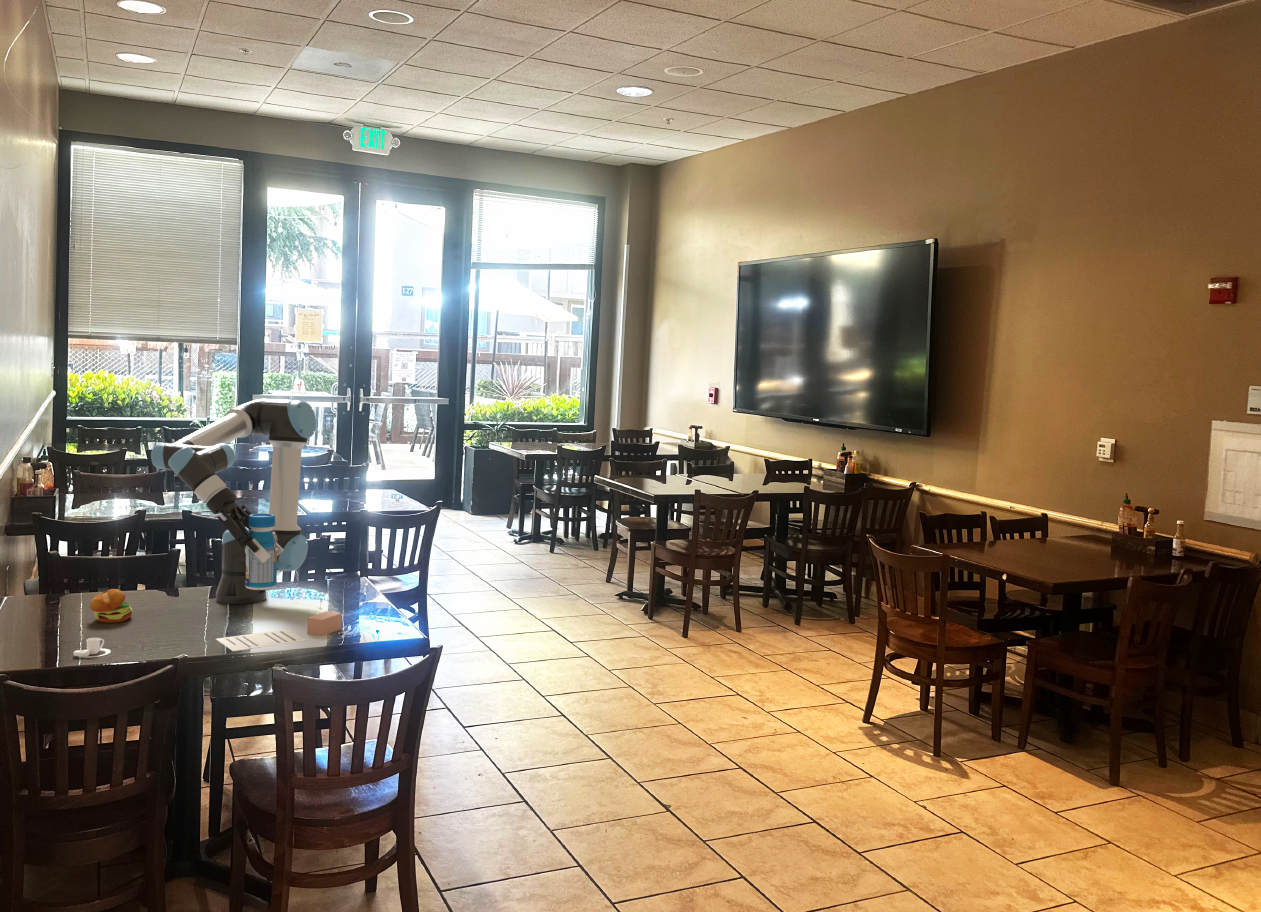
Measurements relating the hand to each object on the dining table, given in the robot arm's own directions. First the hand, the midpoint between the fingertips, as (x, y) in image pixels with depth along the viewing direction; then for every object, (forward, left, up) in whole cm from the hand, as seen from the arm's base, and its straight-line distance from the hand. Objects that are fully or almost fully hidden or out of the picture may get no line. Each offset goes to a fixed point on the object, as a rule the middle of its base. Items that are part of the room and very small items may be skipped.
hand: (273, 556), depth 278 cm
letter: (-2, -2, -24) cm, 24 cm away
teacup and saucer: (-14, -44, -24) cm, 53 cm away
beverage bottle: (-2, -2, -9) cm, 9 cm away
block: (0, +12, -21) cm, 25 cm away
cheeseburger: (-45, -30, -24) cm, 59 cm away
